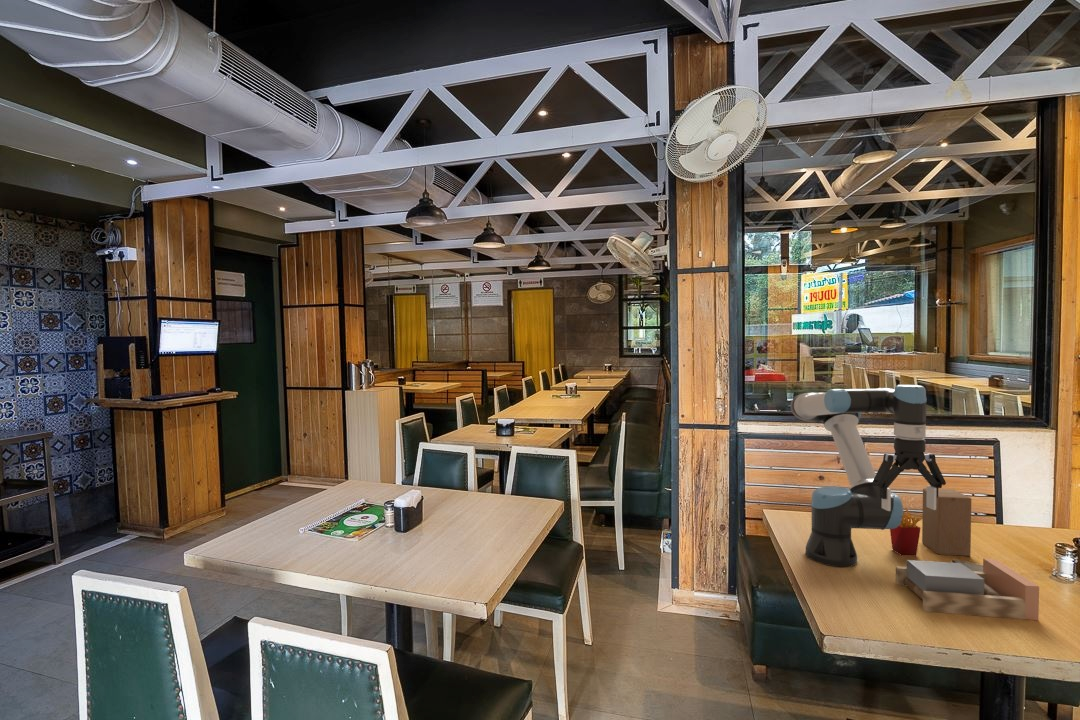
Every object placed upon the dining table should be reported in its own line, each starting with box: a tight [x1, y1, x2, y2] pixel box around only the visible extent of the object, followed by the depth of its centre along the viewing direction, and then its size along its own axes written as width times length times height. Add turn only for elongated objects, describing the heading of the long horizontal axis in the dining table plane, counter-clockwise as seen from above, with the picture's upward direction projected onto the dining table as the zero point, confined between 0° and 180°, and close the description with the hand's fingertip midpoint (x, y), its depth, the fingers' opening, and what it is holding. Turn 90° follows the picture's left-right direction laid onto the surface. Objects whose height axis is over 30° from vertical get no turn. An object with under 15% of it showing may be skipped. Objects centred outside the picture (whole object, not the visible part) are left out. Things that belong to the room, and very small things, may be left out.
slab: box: [906, 559, 984, 595], centre depth 142 cm, size 14×10×5 cm
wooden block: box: [921, 488, 972, 557], centre depth 174 cm, size 10×10×20 cm
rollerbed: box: [894, 565, 1026, 620], centre depth 142 cm, size 23×16×5 cm
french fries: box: [889, 506, 922, 557], centre depth 174 cm, size 9×8×15 cm
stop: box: [982, 558, 1040, 621], centre depth 139 cm, size 3×16×9 cm, turn 169°
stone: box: [951, 558, 983, 572], centre depth 155 cm, size 15×8×3 cm, turn 49°
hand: (908, 509), depth 148 cm, fingers open, 13 cm apart
